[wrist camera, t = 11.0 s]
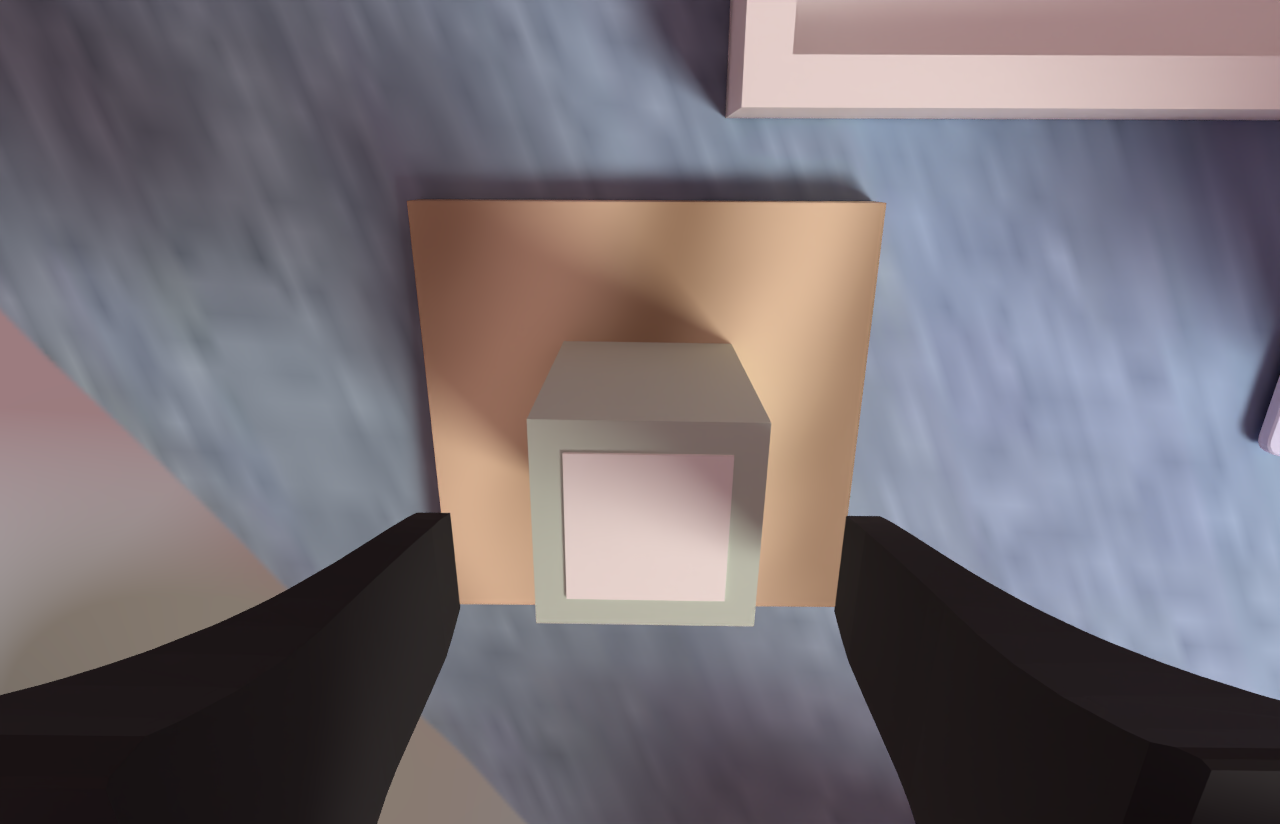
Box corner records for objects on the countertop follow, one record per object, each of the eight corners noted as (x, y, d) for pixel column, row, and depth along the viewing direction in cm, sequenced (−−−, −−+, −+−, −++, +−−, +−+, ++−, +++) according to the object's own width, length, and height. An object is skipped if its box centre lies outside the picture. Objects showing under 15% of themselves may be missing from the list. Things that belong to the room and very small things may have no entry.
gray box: (731, 343, 18) (772, 424, 12) (721, 493, 19) (754, 628, 14) (564, 340, 18) (526, 420, 12) (567, 491, 19) (536, 625, 14)
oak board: (873, 201, 18) (886, 203, 17) (827, 587, 22) (836, 606, 21) (419, 199, 18) (407, 200, 17) (459, 585, 22) (451, 604, 21)
